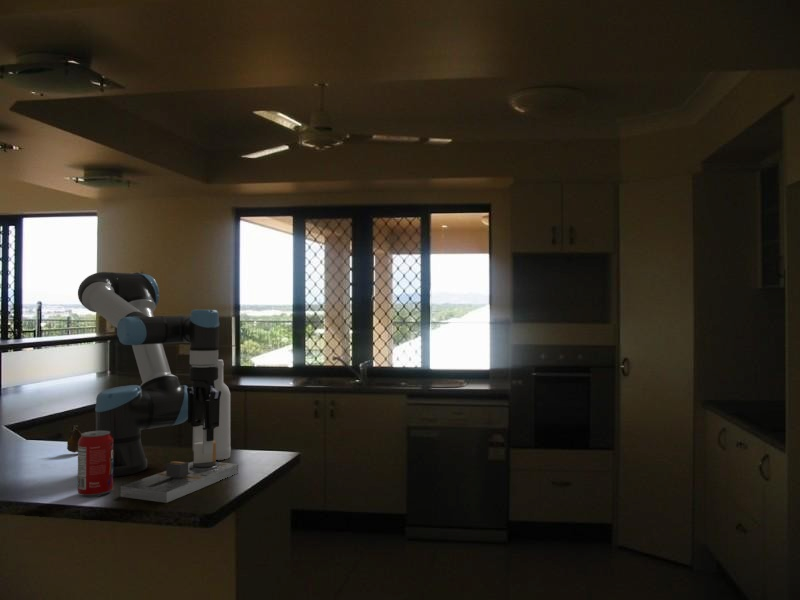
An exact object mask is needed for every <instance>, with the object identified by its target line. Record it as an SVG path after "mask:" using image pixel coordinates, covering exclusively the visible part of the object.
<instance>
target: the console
mask: <svg viewBox="0 0 800 600" xmlns="http://www.w3.org/2000/svg"><path fill="white" fill-rule="evenodd" d="M193 462H194V460H193V461H190V462H188V475H187V476H184V477H181V478H177V479H174V480H172V477H168V476H166V470H164V471H162V472H161V471H160V472H157V473H156V474H153V475H152V474H151V475H149V476H147V477H144V478H141V479H138V480H135V481H133V482H132V481H131V482H129V483H126V484H123V485H120V498H129V499H135V500H143V501H149V502H150V501H151V502H156V503H157V502H158V503H163V504H164V503H165V504H168V503H169V502H172V501H174V500H177V499H179V498H182V497H184V496H186V495H189V494H191V493H195V492H196V491H200V490H201V489H203V488H206V487H208V486H211V485H213V484H216V483H218V482H220V480H221V481H222V479H223V480H225V478H226V479H228V478H230V477H233V476H235V475H238V474H239V464H238V463H230V462H229V463H228V462H220V461H216V465H215V466H213V467H209V468H195V467H193ZM237 473H238V474H237ZM234 474H235V475H234ZM232 475H233V476H232ZM227 477H228V478H227Z"/></svg>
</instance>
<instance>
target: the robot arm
mask: <svg viewBox="0 0 800 600" xmlns="http://www.w3.org/2000/svg"><path fill="white" fill-rule="evenodd" d="M159 293H160V289H159V285H158V282H157V281H156V279H155V278H154V277H153V276H151V275H149V274H145V273H140V272H133V273H131V272H130V273H129V272H128V273H127V272H109V271H101V272H100V271H98V272H95V273H93V274H91V275H88V276H86V278H84V279H83V280H82V281H81V283H80V284H79V286H78V289H77V298H78V301H79V302H80V304H81V305H82V306H83V307H84V308H85V309H86V310H88V311H90V312H93V313H97V314H99V316H101V317H102V318H104V319H105V320H106V321H107V322H108V323H110V324H111V326H113V327H114V328H116V335H117V338H118V340H119V342H120V343H121V344H122V345H125V346H128V345H129V346H132V352H133V354H134V357H135V358H134V359H135V360H136V361H135V362H136V365H137V368H138V371H139V372H138V373H139V375H140V380H141V382H142V383H141V384H140V385H138V384H129V385H120V386H115V387H110V388H107V389H104V390H102V391H101V392H99V393H98V394H97V396H96V400H95V401H96V402H95V408H94V412H95V431H110V435H111V436H112V437H113V478H114V477H122V476H129V475H134V474H137V473H140V472H143V471H145V470H146V469H147V468H148V458H147V456H145V451H144V447H143V444H142V439H141V438H142V437H141V434H142V433H141V431H143V430H149V429H156V428H164V427H173V426H176V425H180V424H183V423H185V422H186V421H187V423H188V424H191V426H192V452H194V442H203V454H206V453H212V452H213V439H214V428H215V427H218V426H219V409H220V396H221V391H220V390H219V391H217V390H216V389H215V385H214V381H215V380H217V379H218V367H217V366H216V365H217V364H218V360H219V356H220V355H219V354H220V353H219V346H220V345H219V343H220V323H221V322H220V320H219V319H220V315H219V311H218V310H217V309H192V310H191V312H190V315H177V316H155V315H154V312H155V310H156V308H157V306H158V304H159V301H160V295H159ZM184 343H185V344H188V343H189V365H190V367H189V378H188V379H189V380H190V381H192V382H193V384H192V386H188V385H185V384H181V382H180V379H179V377H178V376H177V375H174V374H172V372H171V369H170V365H169V361H168V358H167V356H166V352H165V347H164V344H184ZM206 400H208V401H206ZM204 423H205V428H204Z"/></svg>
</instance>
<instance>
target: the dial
mask: <svg viewBox="0 0 800 600" xmlns="http://www.w3.org/2000/svg"><path fill="white" fill-rule="evenodd" d="M193 461H194V462H193ZM193 461H192V462H193V467H195V468H209V467H213V466H215V465H216V462H217V461H216V442H215V441H213V452H212V453H206V454H203V442H194V451H193Z"/></svg>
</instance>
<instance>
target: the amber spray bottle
mask: <svg viewBox="0 0 800 600" xmlns="http://www.w3.org/2000/svg"><path fill="white" fill-rule="evenodd" d="M71 428H72V429H71V432H73V433H72V434H71V435H70V438H68V440H67V446H66V449H67V451H68V452H72V453H78V441H79V439H80V438H81V434H82V433H83V432H81V431H80V430H78V428H79V425H78V424H76V425H72V427H71Z"/></svg>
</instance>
